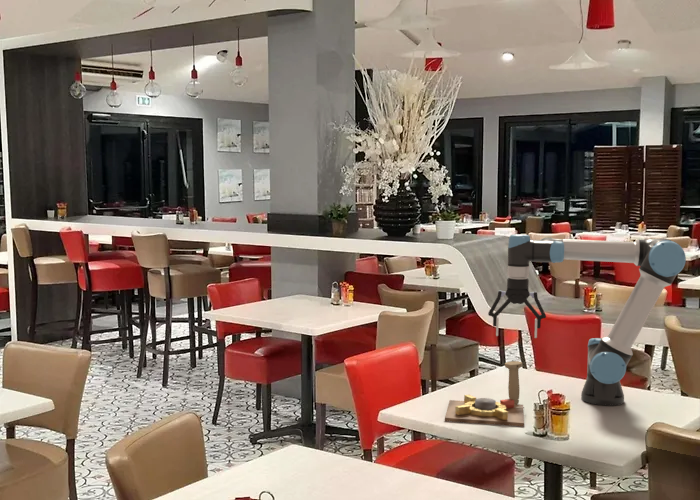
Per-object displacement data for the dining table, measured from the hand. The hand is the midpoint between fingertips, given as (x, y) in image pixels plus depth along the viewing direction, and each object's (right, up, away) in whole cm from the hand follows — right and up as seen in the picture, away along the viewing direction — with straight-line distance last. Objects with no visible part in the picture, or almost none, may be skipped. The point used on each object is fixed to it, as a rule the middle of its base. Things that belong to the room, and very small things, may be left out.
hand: (516, 336), depth 292 cm
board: (-13, -26, -12) cm, 31 cm away
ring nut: (-13, -24, -12) cm, 30 cm away
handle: (0, -25, +2) cm, 25 cm away
